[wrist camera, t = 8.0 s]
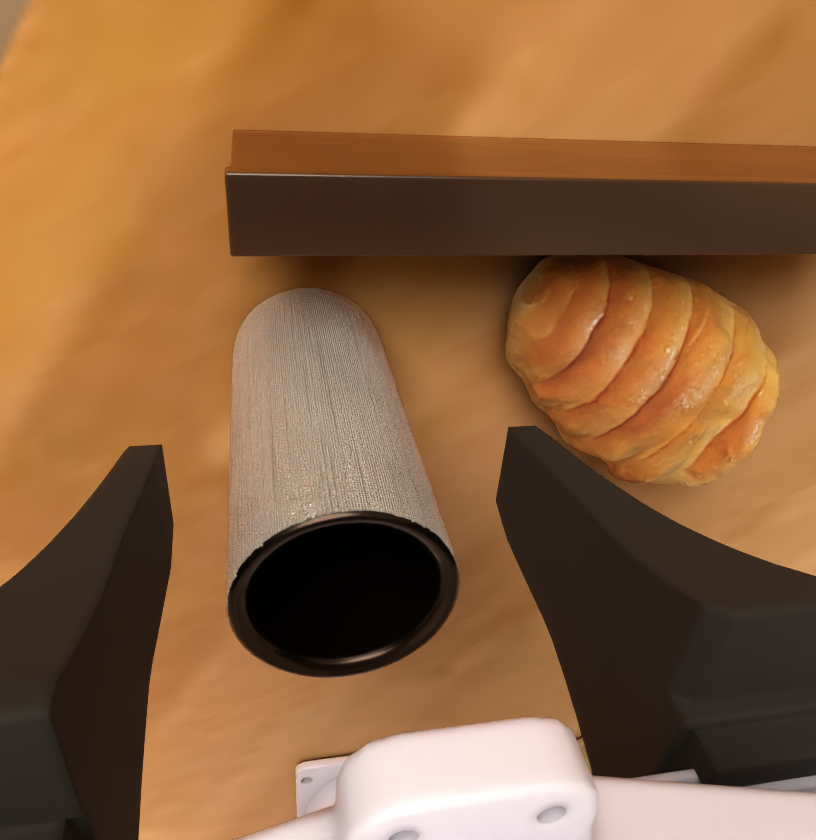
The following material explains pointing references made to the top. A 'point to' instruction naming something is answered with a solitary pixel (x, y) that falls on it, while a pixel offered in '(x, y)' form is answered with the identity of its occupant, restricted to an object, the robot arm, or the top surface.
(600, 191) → the wall shelf
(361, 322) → the planter
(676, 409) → the pastry
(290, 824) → the robot arm
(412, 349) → the top surface
